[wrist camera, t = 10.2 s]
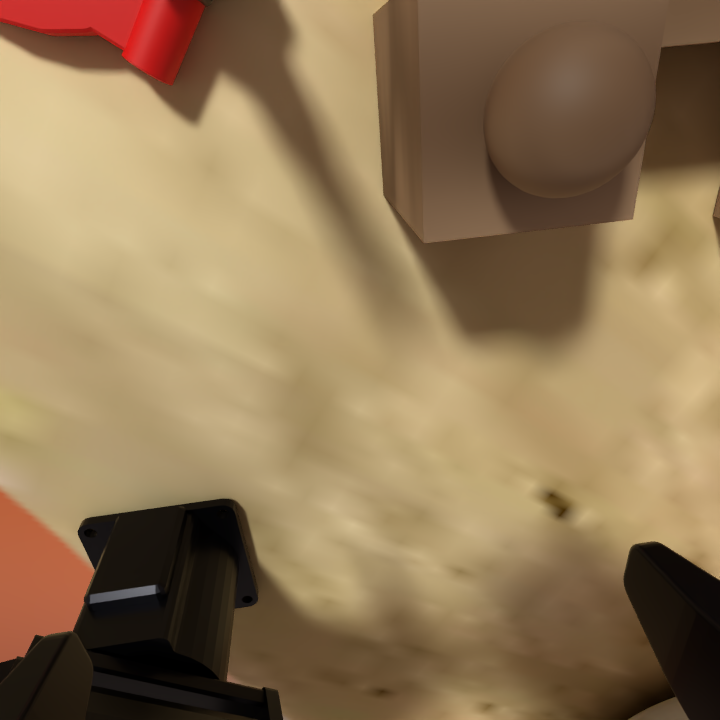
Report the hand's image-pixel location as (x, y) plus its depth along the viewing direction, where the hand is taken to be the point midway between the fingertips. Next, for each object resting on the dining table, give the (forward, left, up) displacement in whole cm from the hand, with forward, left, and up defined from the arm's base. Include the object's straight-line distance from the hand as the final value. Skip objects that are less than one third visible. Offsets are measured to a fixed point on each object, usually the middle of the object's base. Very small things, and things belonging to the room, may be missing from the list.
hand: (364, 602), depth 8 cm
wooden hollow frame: (+7, -12, -12) cm, 18 cm away
